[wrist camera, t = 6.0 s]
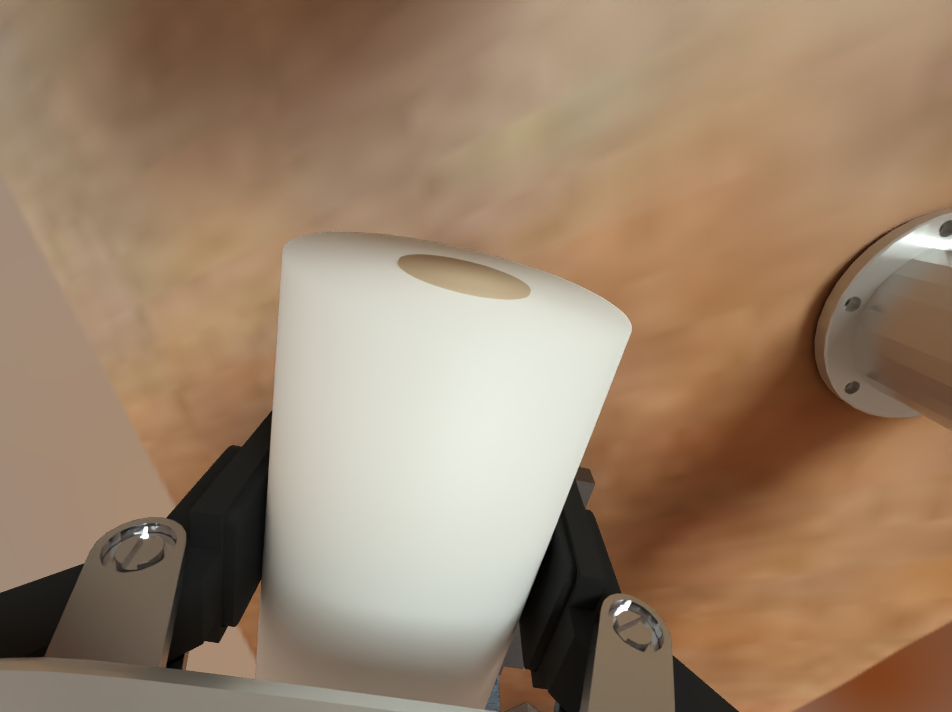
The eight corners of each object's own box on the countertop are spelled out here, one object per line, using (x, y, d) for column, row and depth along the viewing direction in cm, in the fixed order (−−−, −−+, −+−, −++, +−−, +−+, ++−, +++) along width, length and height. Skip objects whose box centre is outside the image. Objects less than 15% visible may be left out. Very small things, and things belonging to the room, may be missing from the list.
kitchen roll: (606, 282, 11) (678, 388, 5) (486, 623, 15) (456, 876, 10) (365, 219, 11) (183, 255, 5) (318, 574, 15) (194, 794, 10)
